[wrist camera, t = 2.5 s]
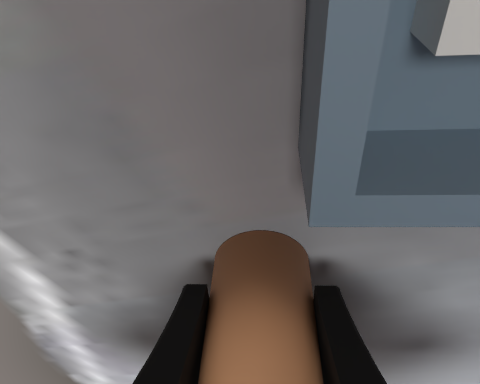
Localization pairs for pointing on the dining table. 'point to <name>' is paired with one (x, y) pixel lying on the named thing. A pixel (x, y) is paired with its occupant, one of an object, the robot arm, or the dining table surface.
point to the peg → (261, 314)
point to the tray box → (391, 113)
